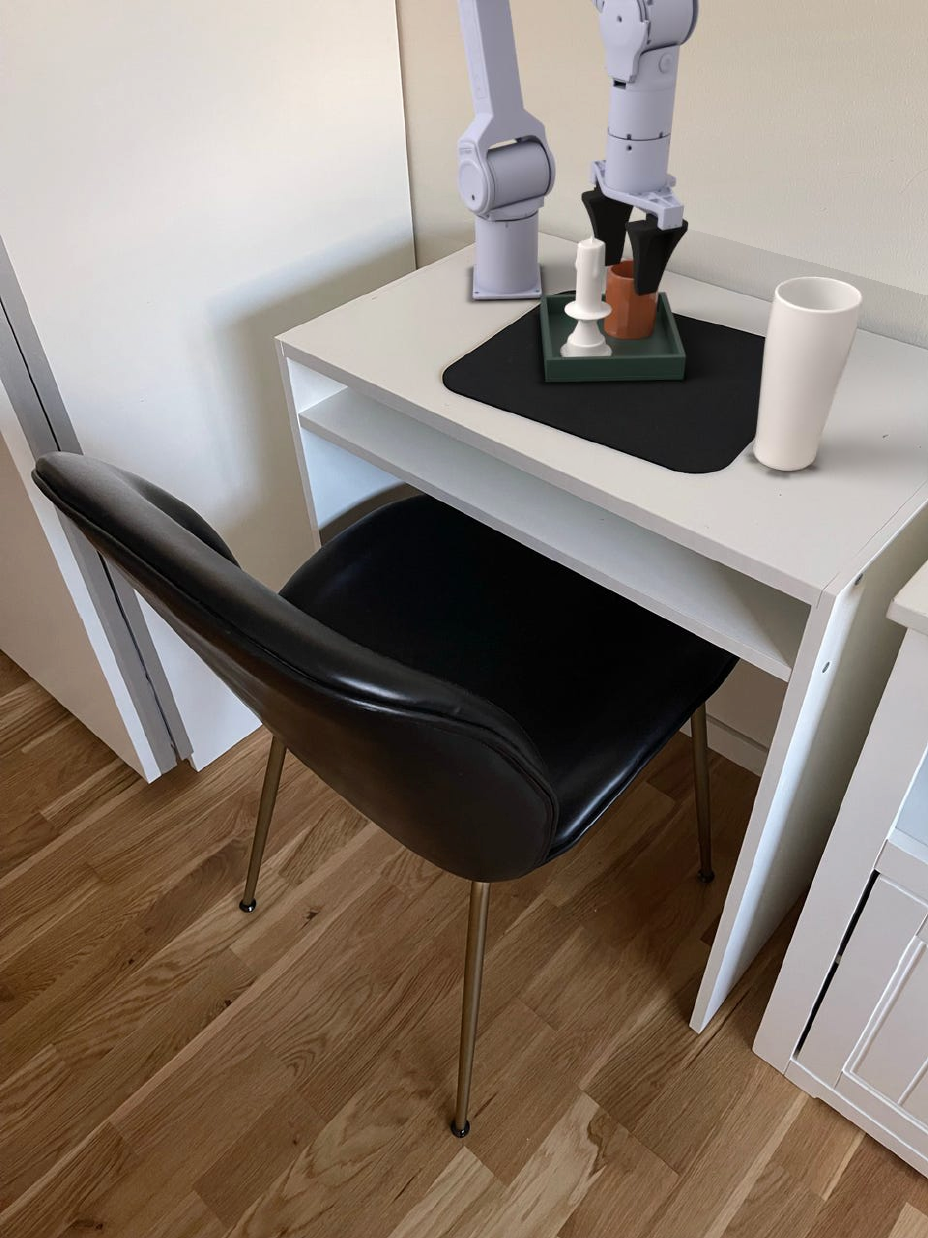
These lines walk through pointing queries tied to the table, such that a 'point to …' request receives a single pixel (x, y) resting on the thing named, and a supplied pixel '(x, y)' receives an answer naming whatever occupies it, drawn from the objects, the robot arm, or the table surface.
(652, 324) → the cup
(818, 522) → the table surface
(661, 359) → the tray
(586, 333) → the candle
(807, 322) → the drinking glass
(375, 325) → the table surface
